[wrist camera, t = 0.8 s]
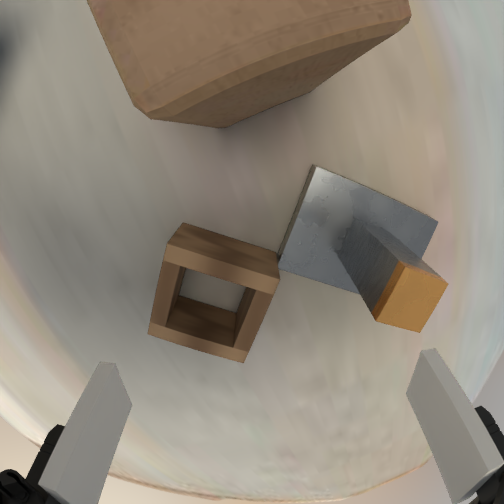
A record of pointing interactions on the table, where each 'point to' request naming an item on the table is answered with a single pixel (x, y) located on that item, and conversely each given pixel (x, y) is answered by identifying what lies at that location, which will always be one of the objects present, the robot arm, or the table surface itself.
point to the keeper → (364, 248)
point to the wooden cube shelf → (206, 316)
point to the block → (236, 51)
